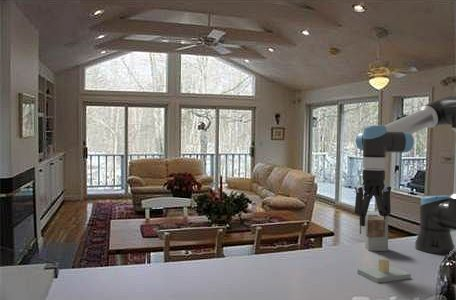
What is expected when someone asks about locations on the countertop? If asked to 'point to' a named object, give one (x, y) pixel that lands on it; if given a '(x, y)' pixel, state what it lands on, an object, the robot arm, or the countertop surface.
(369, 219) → the cardboard shipping box
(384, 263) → the pale green flat panel
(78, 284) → the countertop surface
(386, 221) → the skincare box
